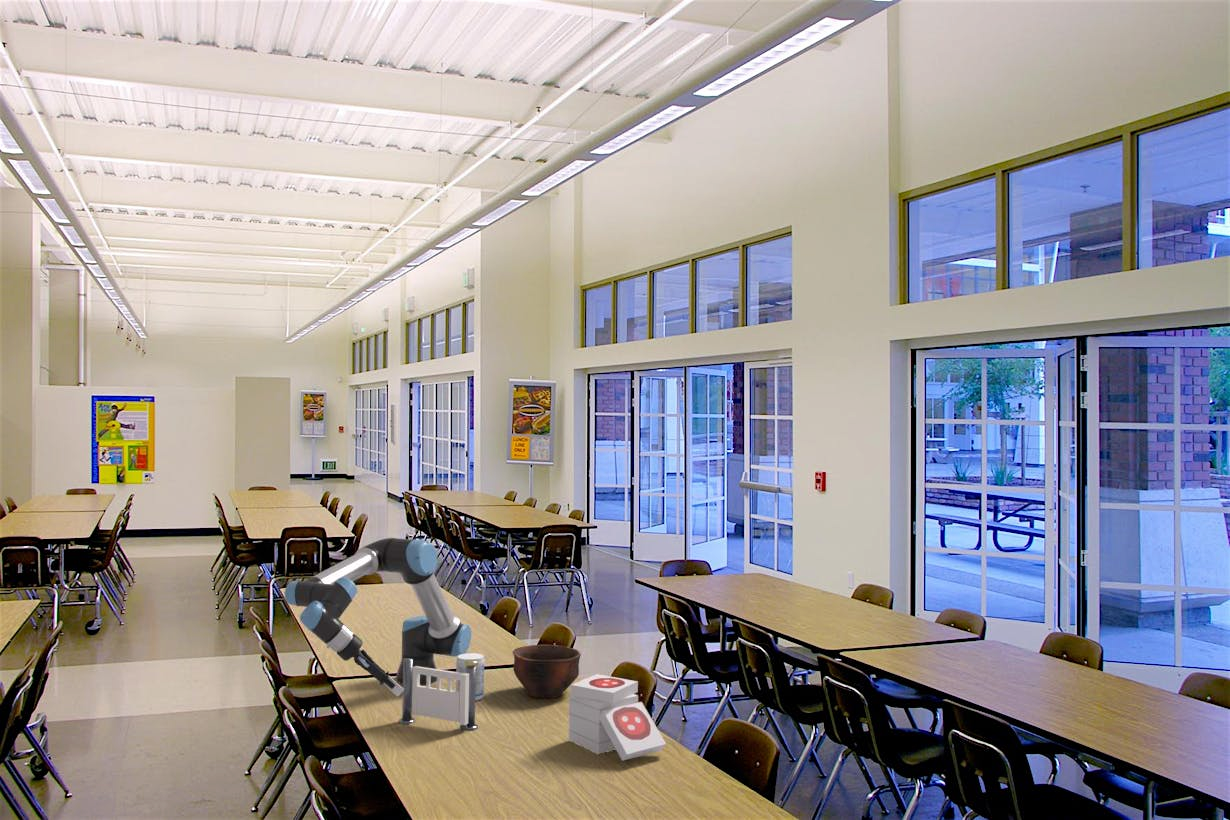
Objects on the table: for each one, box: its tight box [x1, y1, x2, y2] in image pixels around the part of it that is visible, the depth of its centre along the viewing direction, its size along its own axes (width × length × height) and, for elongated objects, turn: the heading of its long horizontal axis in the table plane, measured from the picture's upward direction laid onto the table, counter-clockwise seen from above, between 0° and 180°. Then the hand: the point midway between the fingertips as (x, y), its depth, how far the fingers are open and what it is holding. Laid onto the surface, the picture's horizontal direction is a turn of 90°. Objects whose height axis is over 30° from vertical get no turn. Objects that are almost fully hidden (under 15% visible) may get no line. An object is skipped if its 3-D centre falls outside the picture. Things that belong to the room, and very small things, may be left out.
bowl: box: [512, 644, 582, 699], centre depth 339 cm, size 25×25×15 cm
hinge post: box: [398, 658, 416, 725], centre depth 305 cm, size 5×5×20 cm
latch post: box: [465, 660, 479, 731], centre depth 300 cm, size 5×5×21 cm
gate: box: [412, 666, 469, 732], centre depth 300 cm, size 20×2×18 cm, turn 66°
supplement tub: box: [455, 652, 485, 702], centre depth 332 cm, size 10×10×15 cm
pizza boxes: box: [568, 673, 667, 761], centre depth 285 cm, size 19×30×18 cm, turn 39°
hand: (400, 692), depth 291 cm, fingers closed
